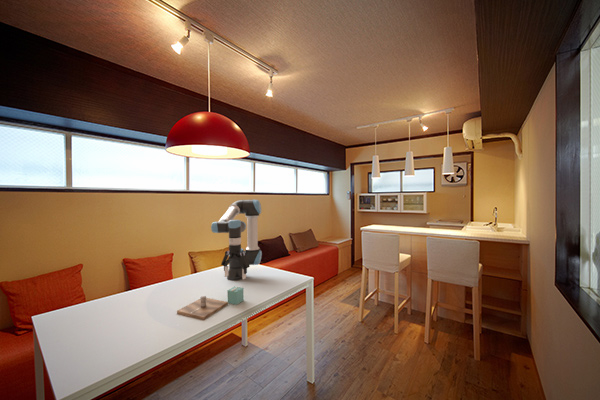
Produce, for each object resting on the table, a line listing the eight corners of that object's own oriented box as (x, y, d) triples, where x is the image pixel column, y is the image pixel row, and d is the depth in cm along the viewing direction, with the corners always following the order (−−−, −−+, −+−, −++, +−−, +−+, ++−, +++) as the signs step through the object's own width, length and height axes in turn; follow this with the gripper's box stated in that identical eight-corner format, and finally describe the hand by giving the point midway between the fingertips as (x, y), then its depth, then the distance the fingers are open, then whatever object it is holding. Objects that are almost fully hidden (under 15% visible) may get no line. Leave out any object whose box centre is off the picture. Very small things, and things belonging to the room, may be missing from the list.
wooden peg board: (203, 299, 155) (203, 288, 155) (228, 304, 148) (227, 293, 148) (176, 313, 137) (176, 301, 137) (203, 319, 129) (203, 307, 129)
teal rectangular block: (234, 298, 156) (234, 285, 156) (243, 300, 153) (243, 286, 153) (227, 302, 150) (227, 289, 149) (236, 304, 147) (236, 290, 147)
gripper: (215, 244, 152) (215, 277, 152) (248, 246, 143) (248, 281, 143) (223, 242, 159) (223, 273, 159) (255, 244, 150) (255, 278, 150)
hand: (235, 277), depth 151 cm, fingers open, 13 cm apart
